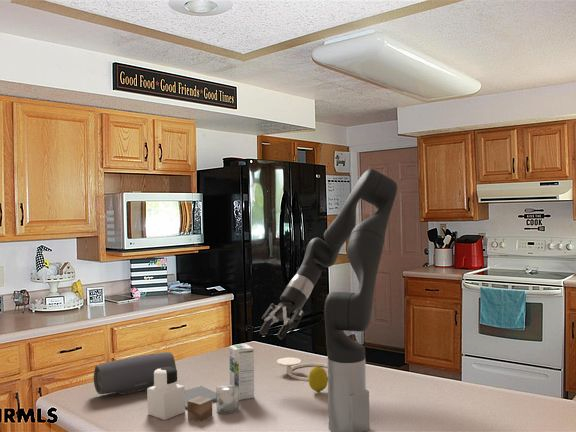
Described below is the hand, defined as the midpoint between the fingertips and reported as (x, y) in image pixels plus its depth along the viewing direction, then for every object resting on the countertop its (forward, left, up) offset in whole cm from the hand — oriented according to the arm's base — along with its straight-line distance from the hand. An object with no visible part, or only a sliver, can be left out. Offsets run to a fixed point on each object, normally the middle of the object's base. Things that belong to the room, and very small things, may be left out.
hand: (270, 335), depth 164 cm
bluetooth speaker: (+27, +31, -16) cm, 44 cm away
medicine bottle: (+4, +33, -16) cm, 37 cm away
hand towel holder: (+3, -18, -16) cm, 25 cm away
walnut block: (-5, +28, -16) cm, 32 cm away
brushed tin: (-6, +20, -16) cm, 26 cm away
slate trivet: (+8, +22, -16) cm, 28 cm away
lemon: (-13, -7, -16) cm, 22 cm away
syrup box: (0, +11, -16) cm, 19 cm away
